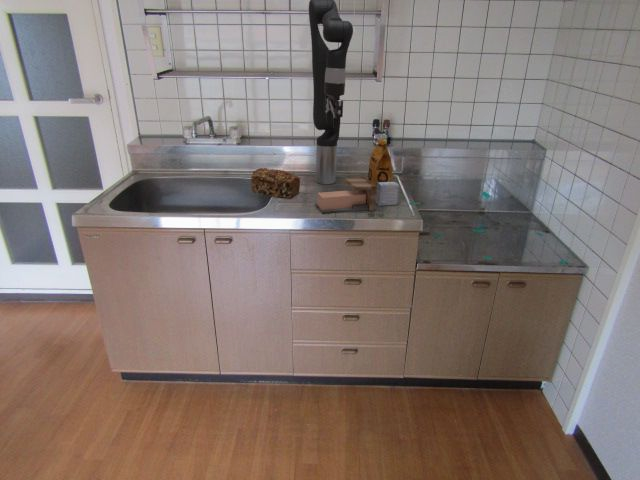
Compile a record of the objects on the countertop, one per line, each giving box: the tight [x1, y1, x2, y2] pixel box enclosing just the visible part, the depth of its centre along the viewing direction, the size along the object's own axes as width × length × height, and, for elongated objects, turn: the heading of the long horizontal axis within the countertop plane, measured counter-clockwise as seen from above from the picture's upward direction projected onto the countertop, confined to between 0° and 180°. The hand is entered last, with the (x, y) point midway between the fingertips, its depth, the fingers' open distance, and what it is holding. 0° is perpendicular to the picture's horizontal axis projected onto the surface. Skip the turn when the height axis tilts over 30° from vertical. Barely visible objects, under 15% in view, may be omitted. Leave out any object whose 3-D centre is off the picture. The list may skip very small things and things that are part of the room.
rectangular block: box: [316, 189, 366, 210], centre depth 173 cm, size 6×18×5 cm, turn 108°
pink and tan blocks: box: [314, 176, 376, 215], centre depth 172 cm, size 12×21×10 cm, turn 108°
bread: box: [250, 167, 301, 199], centre depth 186 cm, size 19×11×10 cm, turn 68°
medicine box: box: [375, 181, 400, 207], centre depth 178 cm, size 8×4×9 cm, turn 102°
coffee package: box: [367, 138, 393, 193], centre depth 190 cm, size 10×12×22 cm
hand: (332, 125), depth 168 cm, fingers open, 8 cm apart
